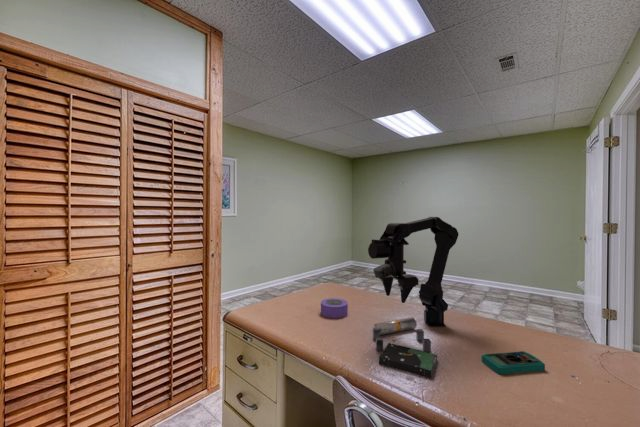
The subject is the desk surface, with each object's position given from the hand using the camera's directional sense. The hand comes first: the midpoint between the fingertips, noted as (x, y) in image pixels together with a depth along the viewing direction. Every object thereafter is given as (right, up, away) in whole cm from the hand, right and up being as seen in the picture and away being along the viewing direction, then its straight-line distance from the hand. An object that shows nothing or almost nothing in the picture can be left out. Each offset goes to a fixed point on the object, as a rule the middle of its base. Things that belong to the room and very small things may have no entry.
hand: (395, 299), depth 104 cm
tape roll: (-22, -12, +19) cm, 31 cm away
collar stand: (-1, -12, -10) cm, 16 cm away
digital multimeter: (+28, -13, -23) cm, 38 cm away
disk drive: (-2, -13, -22) cm, 25 cm away
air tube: (0, -12, 0) cm, 12 cm away
